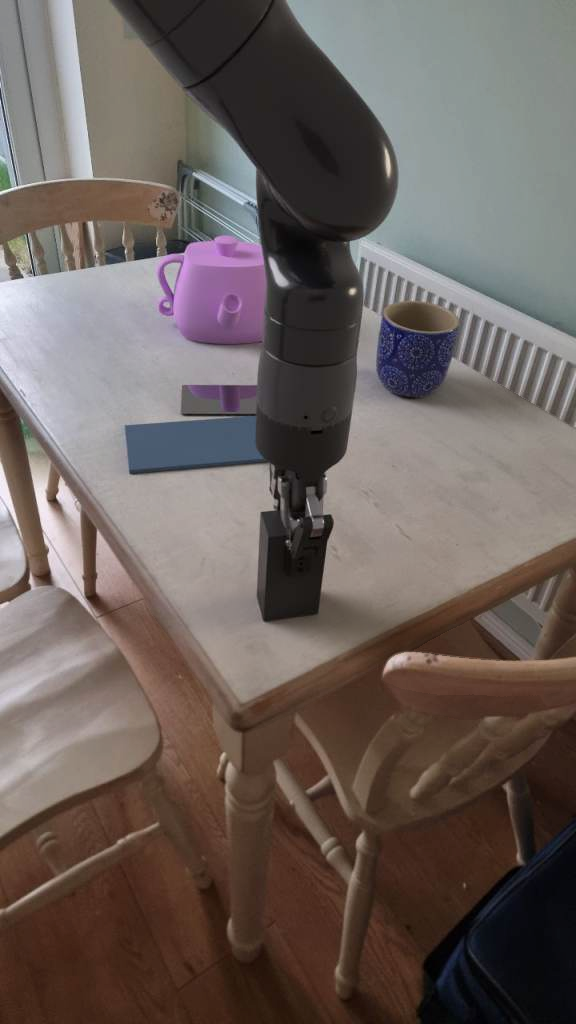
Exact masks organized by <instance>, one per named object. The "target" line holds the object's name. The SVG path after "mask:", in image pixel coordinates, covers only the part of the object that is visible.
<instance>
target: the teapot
mask: <svg viewBox="0 0 576 1024" xmlns="http://www.w3.org/2000/svg"><path fill="white" fill-rule="evenodd" d="M174 263H175V264H180V265H179V268H178V271H177V275H176V278H175V282H174V289H173V291H172V289H171V287H170V285H169V282H168V280H167V278H166V274H165V267H166V266H168V265H170V264H174ZM156 276H157V280H158V284H159V285H160V288H161V290H162V291H163V293H164V295H165V296H161V297H160V298H159V299H158V301H157V305H156V306H157V310H158V312H159V313H160V314H162V315H163V316H167V317H171V316H173V319H174V322H175V324H176V328H177V329H178V330H179V332H180V334H181V335H182V337H183V338H185V339H186V340H189V341H192V342H198V343H205V344H214V345H215V344H217V345H239V344H240V345H241V344H252V343H253V344H254V343H259V342H262V341H263V316H264V296H265V288H266V276H265V267H264V260H263V254H262V247H261V244H257V243H255V242H254V243H253V242H245V241H239V239H238V238H237V237H235V236H232V235H218V236H216V237H214V240H206V241H194V242H190V243H188V244H187V246H186V248H185V250H184V253H183V254H180V253H171V254H168V255H166V256H164V257H163V258H161V259H160V261H159V262H158V264H157V266H156ZM164 303H168V304H169V307H167V306H164Z"/></svg>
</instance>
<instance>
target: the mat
mask: <svg viewBox="0 0 576 1024" xmlns="http://www.w3.org/2000/svg"><path fill="white" fill-rule="evenodd" d="M124 432H125V442H126V452H127V453H126V454H127V460H128V461H127V463H128V473H129V474H130V475H132V474H144V473H154V472H167V471H168V472H169V471H178V470H190V469H200V468H213V467H225V466H234V465H235V466H236V465H245V464H258V463H260V464H261V463H269V462H268V461H266V460H265V459H264V458H263V457H262V456H261V455H260V453H259V452H258V450H257V447H256V443H255V435H256V415H249V416H234V417H219V418H207V419H195V420H194V419H193V420H181V421H166V422H151V423H137V424H126V425H124Z"/></svg>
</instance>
